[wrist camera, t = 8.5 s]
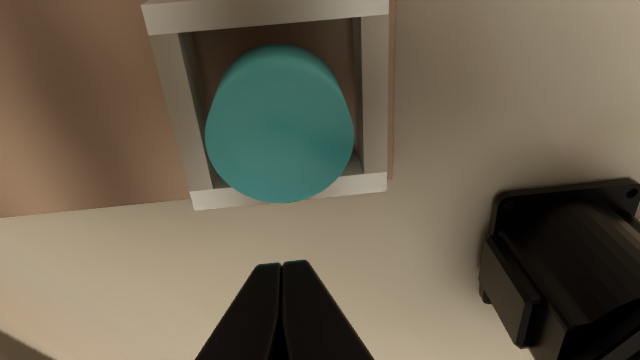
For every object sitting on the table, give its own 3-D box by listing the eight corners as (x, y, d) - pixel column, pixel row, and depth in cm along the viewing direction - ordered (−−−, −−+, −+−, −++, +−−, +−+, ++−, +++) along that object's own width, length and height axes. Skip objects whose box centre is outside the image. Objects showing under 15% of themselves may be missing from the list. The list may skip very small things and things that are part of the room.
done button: (339, 37, 13) (351, 61, 11) (345, 156, 15) (355, 195, 13) (204, 49, 13) (189, 76, 11) (228, 167, 15) (220, 209, 13)
